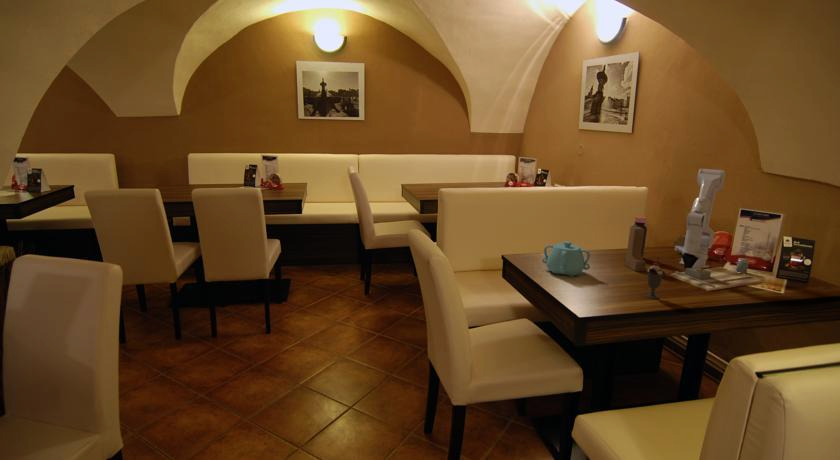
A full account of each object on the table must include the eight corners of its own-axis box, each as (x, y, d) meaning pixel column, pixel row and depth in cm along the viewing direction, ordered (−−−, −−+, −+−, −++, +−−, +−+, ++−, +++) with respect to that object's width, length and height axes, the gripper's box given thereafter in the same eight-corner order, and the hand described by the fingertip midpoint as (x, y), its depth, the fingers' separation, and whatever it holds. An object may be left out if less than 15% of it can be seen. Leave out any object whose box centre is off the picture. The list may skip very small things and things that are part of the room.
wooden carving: (708, 257, 235) (711, 237, 232) (707, 259, 231) (710, 239, 229) (670, 250, 244) (673, 231, 241) (669, 253, 240) (672, 233, 238)
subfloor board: (670, 275, 206) (671, 272, 206) (720, 269, 217) (721, 265, 216) (708, 290, 190) (708, 286, 189) (760, 282, 200) (761, 278, 200)
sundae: (655, 293, 186) (661, 256, 182) (665, 300, 179) (671, 262, 175) (639, 293, 185) (644, 256, 182) (647, 300, 179) (653, 261, 175)
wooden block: (644, 271, 211) (650, 231, 207) (635, 271, 211) (640, 231, 206) (634, 264, 220) (639, 226, 215) (624, 265, 220) (629, 226, 215)
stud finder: (684, 274, 204) (685, 267, 203) (695, 273, 206) (696, 265, 205) (699, 280, 198) (700, 272, 197) (709, 278, 200) (711, 270, 199)
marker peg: (733, 271, 214) (735, 258, 213) (739, 270, 216) (742, 257, 214) (742, 274, 210) (744, 261, 209) (748, 273, 212) (751, 260, 210)
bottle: (628, 259, 228) (633, 218, 223) (626, 255, 235) (632, 215, 230) (643, 260, 226) (649, 219, 221) (641, 256, 233) (647, 216, 228)
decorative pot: (572, 265, 217) (574, 236, 214) (592, 277, 202) (595, 246, 199) (538, 267, 214) (541, 237, 211) (556, 279, 199) (559, 247, 195)
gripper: (671, 236, 208) (666, 266, 211) (701, 245, 195) (695, 277, 198) (683, 235, 210) (678, 265, 214) (713, 244, 197) (708, 275, 200)
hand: (687, 271), depth 206 cm, fingers closed
